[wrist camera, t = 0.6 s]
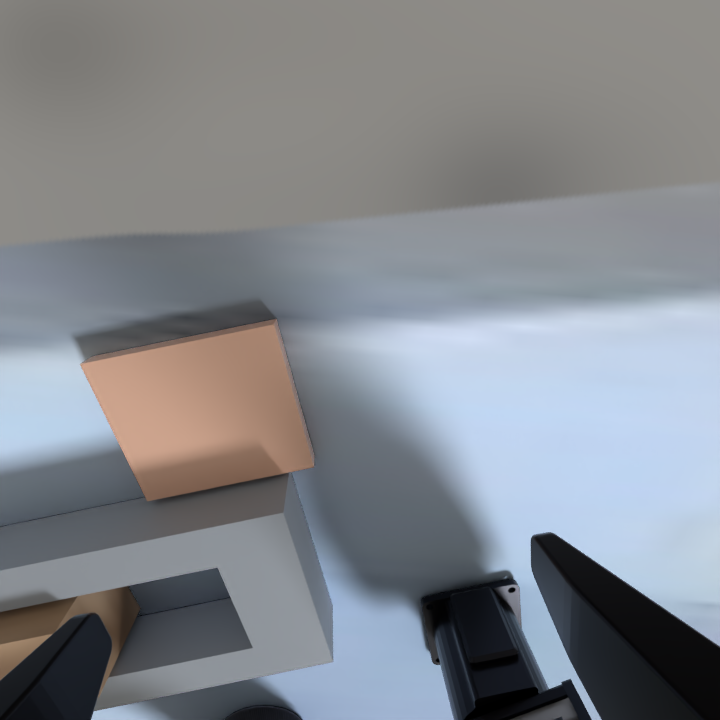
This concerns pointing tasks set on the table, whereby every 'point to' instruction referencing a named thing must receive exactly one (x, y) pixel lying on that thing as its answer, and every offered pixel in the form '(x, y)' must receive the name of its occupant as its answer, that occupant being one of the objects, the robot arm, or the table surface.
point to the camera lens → (263, 714)
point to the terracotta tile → (204, 409)
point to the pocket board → (178, 557)
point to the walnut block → (38, 622)
